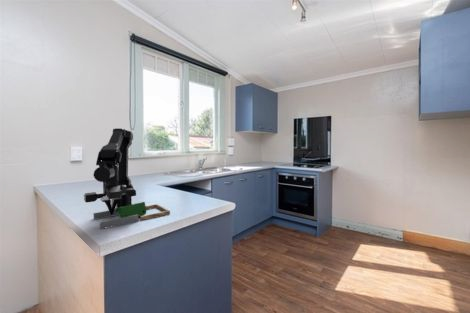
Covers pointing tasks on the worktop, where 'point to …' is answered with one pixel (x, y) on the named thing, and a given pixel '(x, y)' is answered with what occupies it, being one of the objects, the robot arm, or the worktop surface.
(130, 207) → the green bracket
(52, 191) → the worktop surface
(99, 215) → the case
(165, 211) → the bay
